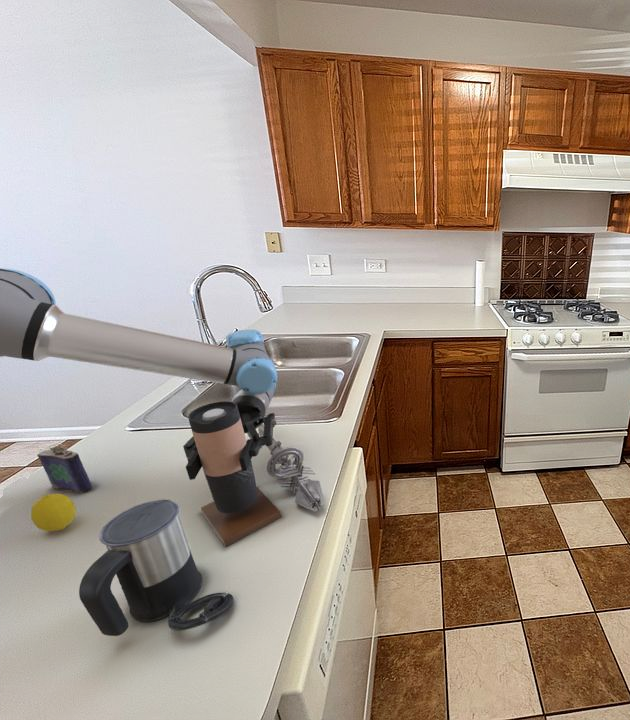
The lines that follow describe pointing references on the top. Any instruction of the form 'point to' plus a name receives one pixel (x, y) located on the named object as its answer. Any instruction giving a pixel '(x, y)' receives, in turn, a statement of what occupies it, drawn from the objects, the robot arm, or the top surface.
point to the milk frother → (147, 572)
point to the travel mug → (223, 455)
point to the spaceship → (293, 474)
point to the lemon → (53, 512)
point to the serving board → (241, 519)
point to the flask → (65, 470)
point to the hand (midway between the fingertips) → (217, 468)
